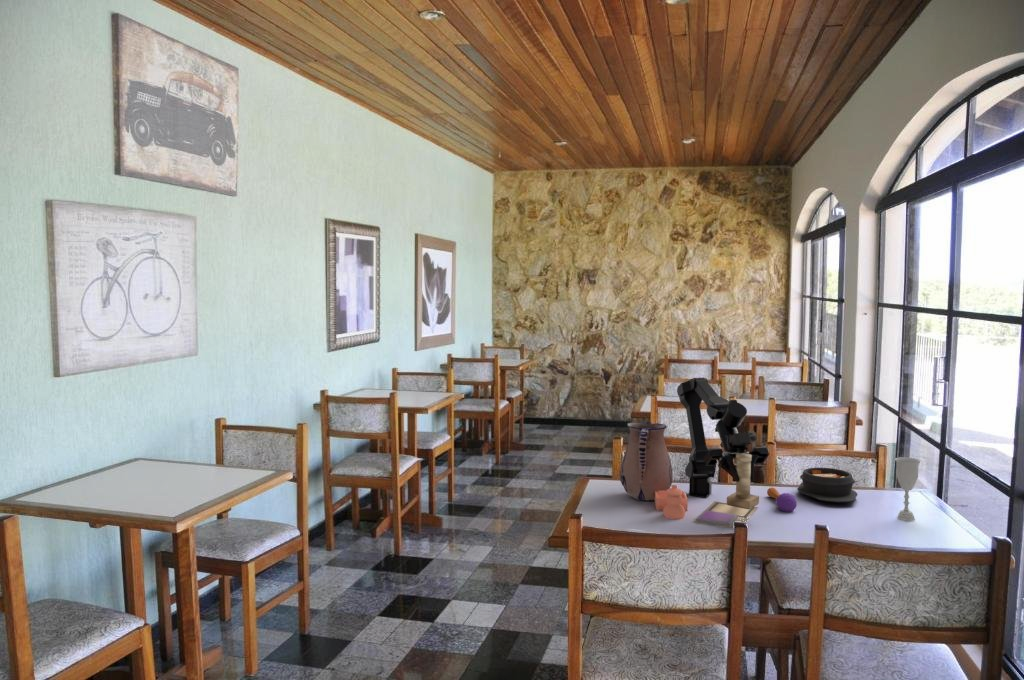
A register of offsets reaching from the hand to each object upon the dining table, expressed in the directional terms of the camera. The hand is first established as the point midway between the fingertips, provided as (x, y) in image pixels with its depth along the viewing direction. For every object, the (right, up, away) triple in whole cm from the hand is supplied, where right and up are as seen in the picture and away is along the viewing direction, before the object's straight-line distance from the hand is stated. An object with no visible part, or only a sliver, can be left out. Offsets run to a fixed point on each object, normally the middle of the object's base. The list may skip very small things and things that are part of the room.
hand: (745, 480), depth 215 cm
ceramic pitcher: (-24, -12, +29) cm, 40 cm away
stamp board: (-3, -13, +10) cm, 16 cm away
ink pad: (-7, -13, +5) cm, 15 cm away
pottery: (-18, -13, +15) cm, 27 cm away
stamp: (0, -7, +2) cm, 8 cm away
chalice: (+51, -13, +6) cm, 53 cm away
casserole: (+37, -11, +30) cm, 49 cm away
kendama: (+18, -12, +21) cm, 31 cm away
